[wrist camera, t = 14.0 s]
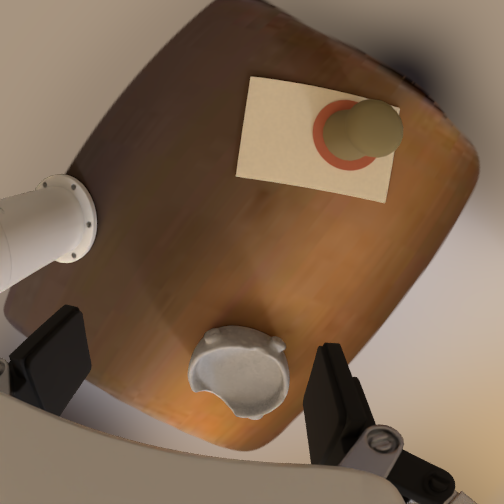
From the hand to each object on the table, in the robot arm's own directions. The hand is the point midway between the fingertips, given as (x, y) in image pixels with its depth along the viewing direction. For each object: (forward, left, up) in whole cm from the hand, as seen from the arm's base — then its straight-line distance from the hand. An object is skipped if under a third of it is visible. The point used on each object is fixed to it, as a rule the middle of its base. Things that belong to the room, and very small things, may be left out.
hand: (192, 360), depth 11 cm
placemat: (+7, +11, -27) cm, 30 cm away
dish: (+2, -20, -27) cm, 34 cm away
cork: (+10, +12, -26) cm, 31 cm away
